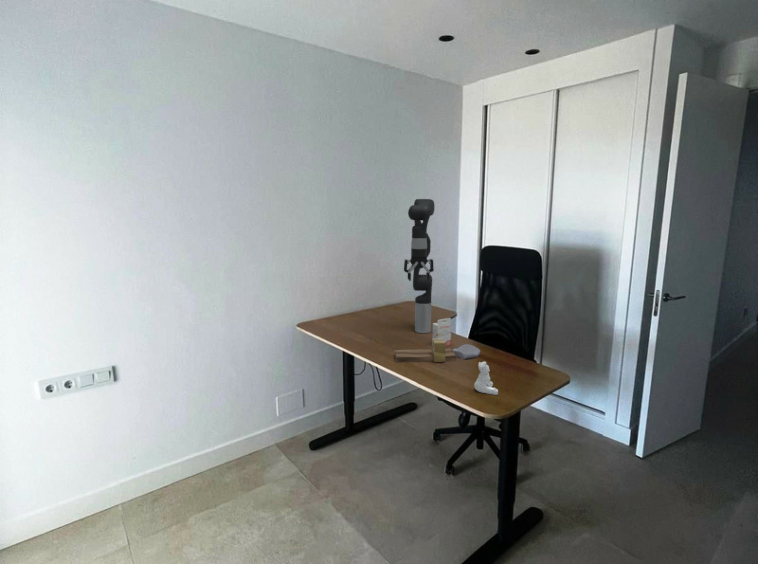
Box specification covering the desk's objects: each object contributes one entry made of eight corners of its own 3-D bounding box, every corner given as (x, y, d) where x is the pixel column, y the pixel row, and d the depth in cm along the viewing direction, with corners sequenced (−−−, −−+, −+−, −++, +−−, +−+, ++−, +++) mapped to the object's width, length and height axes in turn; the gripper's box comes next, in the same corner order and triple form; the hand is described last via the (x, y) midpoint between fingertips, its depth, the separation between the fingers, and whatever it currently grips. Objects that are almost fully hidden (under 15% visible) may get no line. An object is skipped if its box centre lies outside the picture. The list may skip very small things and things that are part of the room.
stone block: (481, 358, 208) (465, 349, 215) (483, 350, 206) (467, 341, 213) (466, 365, 200) (450, 355, 207) (468, 356, 199) (451, 347, 206)
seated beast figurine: (499, 395, 164) (501, 366, 162) (477, 396, 164) (478, 367, 161) (491, 385, 173) (493, 357, 171) (471, 385, 173) (472, 357, 171)
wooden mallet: (428, 350, 212) (429, 333, 210) (438, 350, 212) (439, 333, 210) (434, 362, 197) (434, 343, 195) (445, 361, 197) (445, 343, 196)
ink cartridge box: (445, 342, 226) (446, 315, 223) (450, 345, 222) (451, 317, 219) (431, 344, 222) (432, 317, 220) (437, 347, 218) (437, 319, 215)
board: (394, 354, 208) (394, 349, 207) (450, 353, 209) (451, 348, 209) (396, 362, 198) (396, 357, 197) (455, 360, 200) (455, 355, 199)
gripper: (432, 246, 208) (431, 278, 211) (403, 246, 207) (403, 279, 210) (435, 248, 200) (434, 281, 203) (405, 248, 199) (404, 282, 202)
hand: (418, 280), depth 207 cm, fingers open, 8 cm apart
